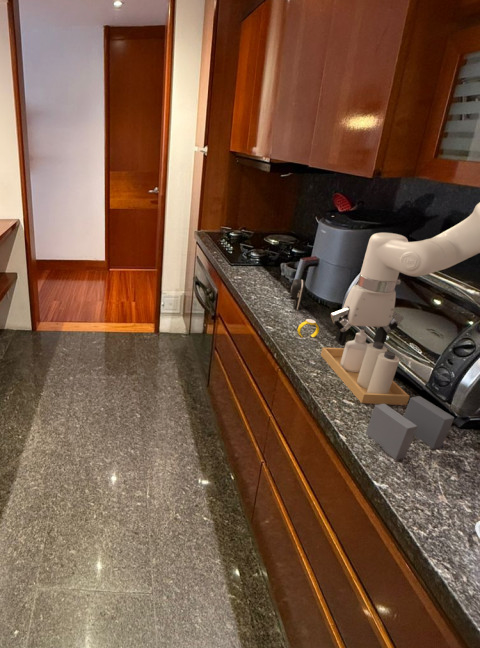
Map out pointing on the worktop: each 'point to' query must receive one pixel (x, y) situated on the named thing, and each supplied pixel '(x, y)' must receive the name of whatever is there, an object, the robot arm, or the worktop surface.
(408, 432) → the grey rectangular blocks
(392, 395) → the tray
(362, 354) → the eye dropper bottle
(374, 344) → the white bottles
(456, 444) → the worktop surface
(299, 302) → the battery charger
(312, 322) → the watch
